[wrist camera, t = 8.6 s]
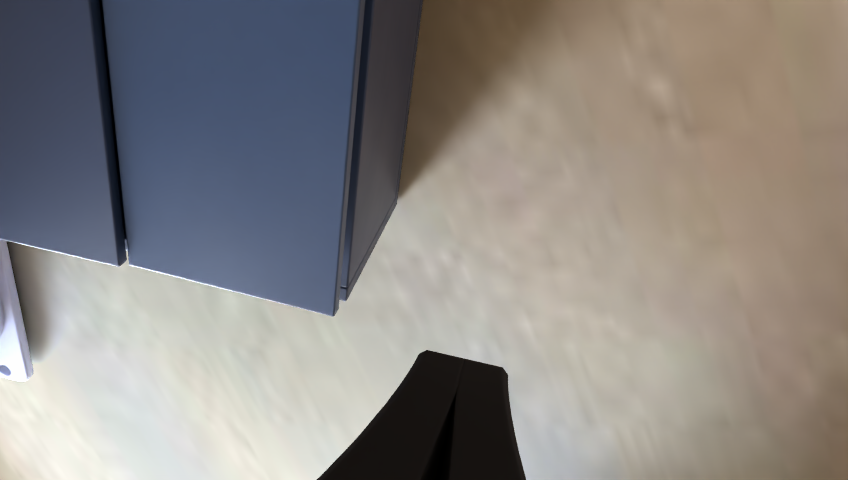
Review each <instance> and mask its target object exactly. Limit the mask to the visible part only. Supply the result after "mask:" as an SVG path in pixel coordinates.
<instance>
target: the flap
mask: <svg viewBox="0 0 848 480" xmlns="http://www.w3.org/2000/svg"><path fill="white" fill-rule="evenodd" d="M102 5H103V14H104V24H105V34H106V43H107V53H108V63H109V72H110V82H111V92H112V101H113V111H114V121H115V130H116V140H117V150H118V159H119V169H120V179H121V188H122V198H123V208H124V217H125V227H126V237H127V246H128V256H129V264H130V265H131V266H135V267H139V268H143V269H147V270H151V271H155V272H159V273H163V274H167V275H170V276H174V277H178V278H182V279H186V280H190V281H194V282H198V283H202V284H206V285H210V286H214V287H218V288H222V289H226V290H230V291H234V292H238V293H242V294H246V295H250V296H254V297H258V298H262V299H266V300H269V301H273V302H277V303H281V304H285V305H289V306H293V307H297V308H301V309H305V310H309V311H313V312H317V313H321V314H325V315H329V316H335V314H336V312H337V310H338V309H339V297H340V286H341V274H342V263H343V251H344V239H345V228H346V216H347V205H348V193H349V182H350V170H351V159H352V147H353V136H354V124H355V112H356V101H357V89H358V78H359V66H360V55H361V43H362V32H363V20H364V9H365V0H102Z"/></svg>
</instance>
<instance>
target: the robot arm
mask: <svg viewBox="0 0 848 480" xmlns="http://www.w3.org/2000/svg"><path fill="white" fill-rule="evenodd" d="M32 375H33V366H32V361H31V356H30V351H29V347H28V342H27V337H26V332H25V328H24V323H23V318H22V313H21V308H20V304H19V299H18V294H17V289H16V284H15V280H14V275H13V270H12V265H11V261H10V256H9V251H8V246H7V241H6V240H2V239H0V377H3V378H7V379H11V380H15V381H21V382H24V381H27V380H28V379H29V378H30V377H31V376H32ZM317 480H526V478H525V474H524V470H523V466H522V462H521V458H520V455H519V451H518V446H517V442H516V437H515V432H514V427H513V421H512V416H511V409H510V402H509V393H508V374H507V373H506V372H505V370H504V369H503V368H502V367H498V366H494V365H489V364H485V363H481V362H476V361H472V360H468V359H463V358H459V357H455V356H450V355H446V354H442V353H437V352H433V351H429V350H426V351H424V352H422V353H420V354H419V355H418V357H417V359H416V361H415V363H414V364H413V366H412V368H411V369H410V371H409V372H408V374H407V375H406V377H405V378H404V380H403V381H402V383H401V384H400V386H399V387H398V388H397V390H396V391H395V392H394V394H393V395H392V396H391V398H390V399H389V400H388V402H387V403H386V404H385V405H384V407H383V408H382V409H381V410H380V411H379V413H378V414H377V415H376V416H375V417H374V419H373V420H372V421H371V422H370V423H369V425H368V426H367V427H366V428H365V429H364V431H363V432H362V433H361V434H360V435H359V436H358V437H357V439H356V440H355V441H354V442H353V443H352V444H351V445H350V446H349V447H348V448H347V449H346V450H345V451H344V452H343V453H342V454H341V456H340V457H339V458H338V459H337V460H336V461H335V462H334V463H333V464H332V465H331V466H330V467H329V468H328V469H327V470H326V471H325V472H324V473H323V474H322V475H321V476H320V477H319V478H318V479H317Z"/></svg>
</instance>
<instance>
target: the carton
mask: <svg viewBox="0 0 848 480" xmlns="http://www.w3.org/2000/svg"><path fill="white" fill-rule="evenodd" d="M422 4H423V0H365V9H364V20H363V32H362V43H361V55H360V66H359V78H358V89H357V101H356V112H355V124H354V136H353V147H352V159H351V170H350V182H349V193H348V205H347V216H346V228H345V239H344V251H343V263H342V274H341V286H340V297H339V300H343V301H346V300H347V299H348V297H349V295H350V293H351V291H352V289H353V287H354V285H355V283H356V282H357V280H358V278H359V276H360V274H361V272H362V270H363V268H364V266H365V264H366V262H367V260H368V258H369V256H370V255H371V253H372V251H373V249H374V247H375V245H376V243H377V241H378V239H379V237H380V235H381V233H382V231H383V230H384V228H385V226H386V224H387V222H388V220H389V218H390V216H391V214H392V212H393V210H394V208H395V206H396V204H397V199H398V191H399V183H400V175H401V167H402V160H403V152H404V144H405V136H406V128H407V121H408V113H409V105H410V97H411V89H412V82H413V74H414V66H415V58H416V50H417V43H418V35H419V27H420V19H421V12H422ZM0 239H2V240H6V241H10V242H15V243H19V244H23V245H27V246H32V247H36V248H40V249H45V250H49V251H53V252H58V253H62V254H66V255H70V256H75V257H79V258H83V259H88V260H92V261H96V262H100V263H105V264H109V265H113V266H118V267H119V266H121V265H122V264H123V263H124V262H125V261H126V260H127V257H126V251H128V246H127V237H126V227H125V217H124V208H123V198H122V188H121V179H120V169H119V159H118V150H117V140H116V130H115V121H114V111H113V101H112V92H111V82H110V72H109V63H108V53H107V43H106V34H105V24H104V14H103V5H102V0H0Z"/></svg>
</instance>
